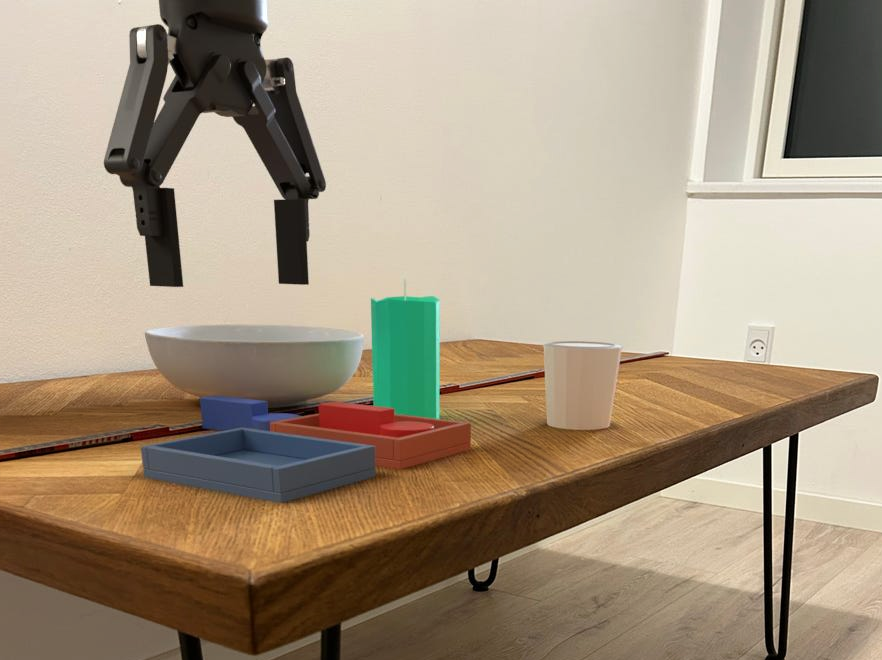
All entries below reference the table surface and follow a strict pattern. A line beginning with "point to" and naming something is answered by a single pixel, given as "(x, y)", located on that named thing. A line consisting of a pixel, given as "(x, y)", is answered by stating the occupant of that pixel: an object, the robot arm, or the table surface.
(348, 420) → the red rounded step block
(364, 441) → the red tray
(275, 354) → the serving bowl
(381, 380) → the candle
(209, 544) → the table surface
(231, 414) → the blue rounded step block
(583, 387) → the white cup
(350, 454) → the blue tray
